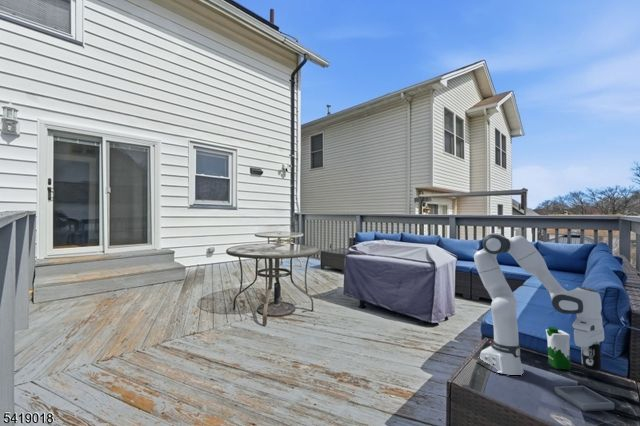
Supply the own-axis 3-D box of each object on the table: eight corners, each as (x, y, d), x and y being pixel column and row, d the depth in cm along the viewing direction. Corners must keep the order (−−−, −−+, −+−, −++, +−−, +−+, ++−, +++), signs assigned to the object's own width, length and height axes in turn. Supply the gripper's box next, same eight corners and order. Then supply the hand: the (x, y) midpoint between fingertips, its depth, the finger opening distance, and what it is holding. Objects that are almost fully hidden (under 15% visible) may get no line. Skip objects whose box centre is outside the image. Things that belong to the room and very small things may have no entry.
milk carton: (545, 362, 164) (543, 325, 165) (563, 362, 163) (561, 325, 164) (555, 369, 156) (553, 330, 157) (574, 370, 154) (572, 331, 155)
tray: (583, 411, 121) (582, 404, 121) (554, 392, 134) (554, 386, 134) (614, 409, 122) (614, 403, 122) (583, 391, 135) (583, 385, 135)
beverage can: (605, 371, 133) (603, 344, 134) (587, 370, 135) (586, 343, 135) (594, 365, 140) (593, 339, 140) (578, 363, 141) (577, 338, 142)
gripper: (591, 317, 146) (592, 346, 145) (570, 324, 136) (571, 355, 136) (608, 321, 140) (609, 351, 139) (587, 328, 131) (589, 360, 130)
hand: (590, 353), depth 137 cm, fingers closed on beverage can, 7 cm apart
